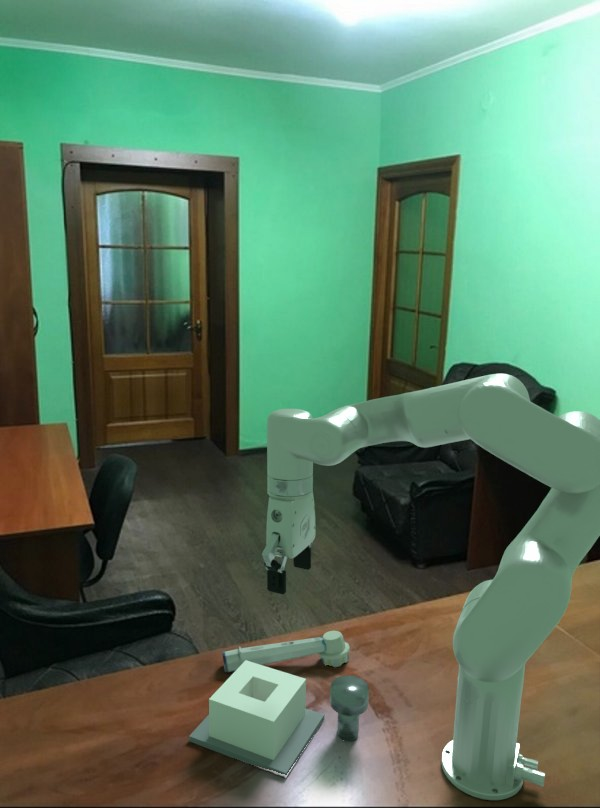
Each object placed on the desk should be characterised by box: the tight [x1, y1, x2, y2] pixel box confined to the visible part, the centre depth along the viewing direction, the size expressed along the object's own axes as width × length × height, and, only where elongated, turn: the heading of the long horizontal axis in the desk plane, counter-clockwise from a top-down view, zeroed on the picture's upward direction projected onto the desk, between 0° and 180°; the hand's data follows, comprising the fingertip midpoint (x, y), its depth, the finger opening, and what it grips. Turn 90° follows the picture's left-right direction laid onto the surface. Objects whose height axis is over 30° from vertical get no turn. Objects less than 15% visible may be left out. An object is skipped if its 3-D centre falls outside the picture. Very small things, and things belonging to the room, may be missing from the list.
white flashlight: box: [221, 630, 351, 674], centre depth 130 cm, size 5×7×25 cm
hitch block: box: [188, 660, 325, 775], centre depth 111 cm, size 18×15×8 cm
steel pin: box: [329, 674, 370, 743], centre depth 111 cm, size 6×6×9 cm
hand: (289, 579), depth 112 cm, fingers open, 9 cm apart
